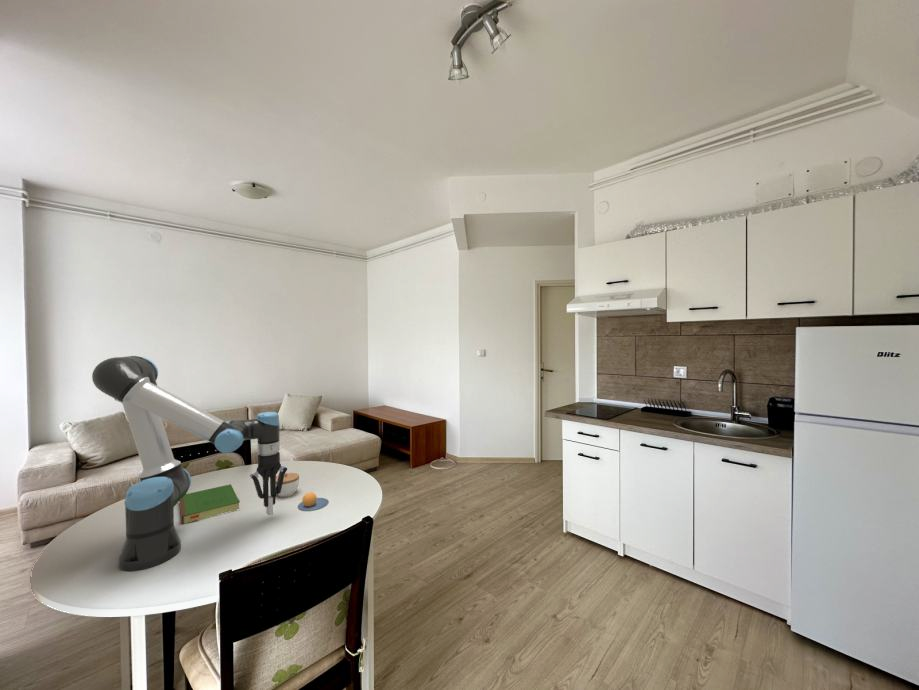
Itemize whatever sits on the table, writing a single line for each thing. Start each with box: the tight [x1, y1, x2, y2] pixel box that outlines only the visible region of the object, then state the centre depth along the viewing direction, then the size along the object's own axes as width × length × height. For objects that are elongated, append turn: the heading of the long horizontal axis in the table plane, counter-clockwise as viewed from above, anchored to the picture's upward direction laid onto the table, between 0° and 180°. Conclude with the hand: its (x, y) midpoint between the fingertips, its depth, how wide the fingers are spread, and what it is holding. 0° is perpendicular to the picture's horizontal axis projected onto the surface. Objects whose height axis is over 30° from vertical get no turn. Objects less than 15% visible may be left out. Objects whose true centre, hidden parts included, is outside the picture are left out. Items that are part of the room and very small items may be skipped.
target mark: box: [297, 497, 330, 512], centre depth 153 cm, size 12×12×1 cm
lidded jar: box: [276, 472, 300, 498], centre depth 163 cm, size 11×11×9 cm
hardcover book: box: [179, 484, 240, 525], centre depth 152 cm, size 25×19×4 cm
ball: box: [301, 491, 318, 507], centre depth 151 cm, size 6×6×6 cm
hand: (269, 513), depth 141 cm, fingers closed
